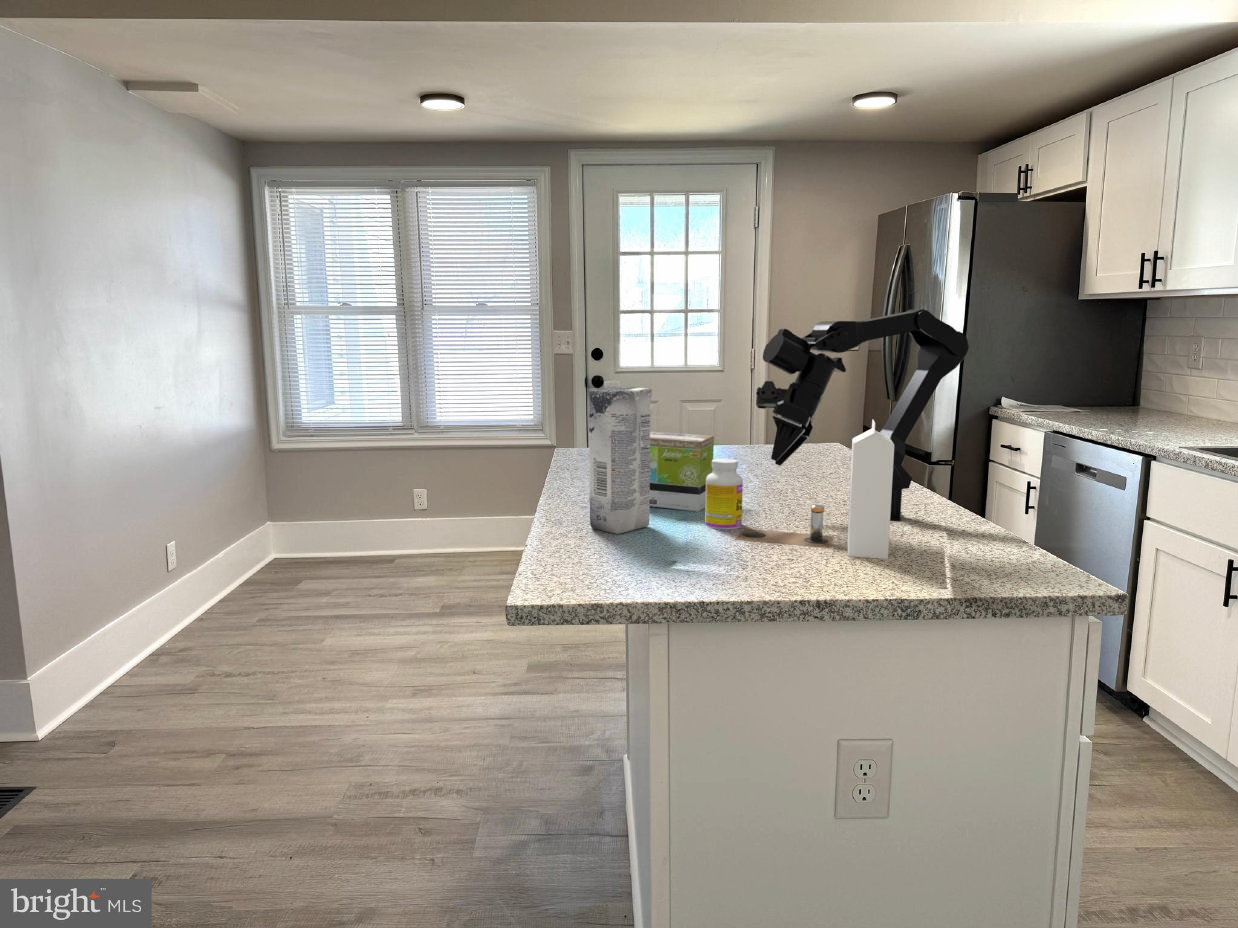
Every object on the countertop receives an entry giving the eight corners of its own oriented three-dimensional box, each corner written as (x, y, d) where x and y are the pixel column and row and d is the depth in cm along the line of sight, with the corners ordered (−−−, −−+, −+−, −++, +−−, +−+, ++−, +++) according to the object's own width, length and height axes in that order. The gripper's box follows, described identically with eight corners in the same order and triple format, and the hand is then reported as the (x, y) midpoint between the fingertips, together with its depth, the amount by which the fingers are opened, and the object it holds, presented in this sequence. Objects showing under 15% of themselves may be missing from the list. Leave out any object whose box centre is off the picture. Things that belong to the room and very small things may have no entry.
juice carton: (656, 526, 149) (658, 380, 144) (618, 536, 141) (618, 383, 137) (621, 519, 155) (621, 378, 150) (582, 528, 147) (581, 381, 143)
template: (833, 541, 138) (834, 536, 138) (828, 553, 130) (828, 547, 130) (744, 533, 143) (744, 528, 143) (734, 544, 136) (734, 538, 136)
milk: (847, 562, 126) (853, 422, 122) (846, 552, 131) (852, 418, 128) (888, 565, 124) (895, 423, 121) (885, 554, 130) (892, 419, 126)
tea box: (630, 506, 166) (630, 435, 164) (646, 497, 175) (647, 430, 173) (699, 512, 161) (701, 439, 158) (713, 503, 170) (714, 433, 167)
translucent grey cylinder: (823, 539, 135) (825, 504, 134) (821, 542, 133) (823, 507, 132) (810, 538, 136) (811, 503, 135) (808, 541, 134) (810, 506, 133)
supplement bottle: (740, 535, 142) (742, 464, 140) (703, 533, 144) (704, 462, 142) (742, 526, 149) (744, 458, 147) (706, 524, 150) (708, 457, 148)
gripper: (773, 379, 159) (741, 451, 159) (765, 358, 141) (729, 439, 141) (827, 400, 156) (794, 473, 156) (825, 381, 138) (788, 464, 138)
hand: (775, 462), depth 148 cm, fingers open, 9 cm apart
